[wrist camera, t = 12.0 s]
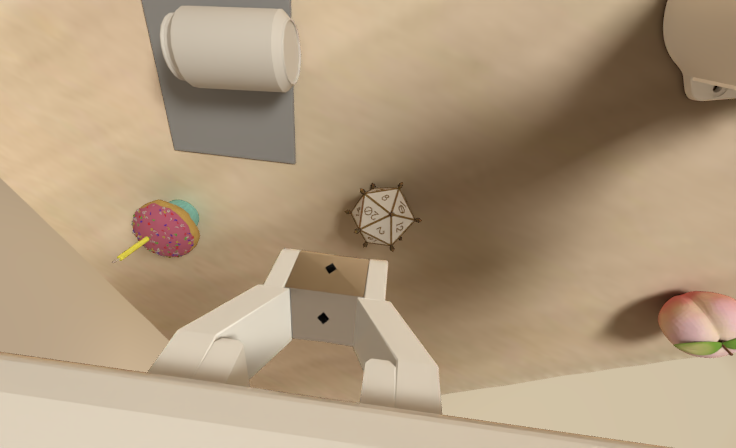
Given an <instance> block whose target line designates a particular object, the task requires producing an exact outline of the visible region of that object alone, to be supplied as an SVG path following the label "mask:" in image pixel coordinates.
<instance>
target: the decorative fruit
mask: <svg viewBox="0 0 736 448" xmlns="http://www.w3.org/2000/svg"><path fill="white" fill-rule="evenodd" d="M658 323H659V326H660V329H661V330H662V332H663V333H664V335H665V336H666V337H667V338H668V340H669V341H670V342H671V343H672V344H673V345H674V346H675V347H677V348H678V349H679V350H681V351H683V352H685V353H687V354H690V355H693V356H697V357H704V358H715V357H722V356H727V355H733V354H732V353H734V352H736V300H735V299H733V298H731V297H729V296H726V295H722V294H718V293H713V292H703V291H693V292H687V293H685V294H682V295H679V296H674V297H672V298H671V299H669V300H668V301H667V302H666V303H665V304H664V305H663V307H662V308H661V310H660V312H659V315H658Z"/></svg>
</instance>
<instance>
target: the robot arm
mask: <svg viewBox="0 0 736 448" xmlns="http://www.w3.org/2000/svg"><path fill="white" fill-rule="evenodd" d="M663 35H664V41H665V45H666V48H667V51H668V53H669V55H670V57H671V58H672V60H673V61H674V62H675V63H676V65H677V66H678V67H679V68H680V70H681V71H682V74H683V81H684V89H685V93H686V96H687V97H688V98H689V99H691V100H696V101H710V100H722V99H734V98H736V0H668V1H667V4H666V9H665V13H664V21H663ZM714 86H717V88H716V89H715V90H713V88H714ZM369 261H370V262H369ZM387 271H388V261H387V260H377V259H363V258H355V257H347V256H338V255H333V254H326V253H319V252H312V251H306V250H298V249H290V248H284V249H282V250H281V252H280V253H279V255H278V257H277V259H276V261H275V263H274V265H273V267H272V269H271V271H270V273H269V275H268V276H267V278H266V280H265V282H264V284H263V285H260V284H258V285H256V286H254V287H252V288H251V289H249V290H247V291H245V292H243V293H242V294H240V295H238V296H236V297H235V298H233V299H231V300H229V301H228V302H226V303H224V304H222V305H221V306H219V307H217V308H215V309H214V310H212V311H210V312H208V313H207V314H205V315H203V316H201V317H200V318H198V319H196V320H194V321H193V322H191V323H189V324H187V325H185V326H184V327H182V328H180V329H178V330H177V331H176V333H175V334H174V335H173V337H172V338H171V340H170V341H169V343H168V344H167V345H166V347H165V348H164V350H163V351H162V352H161V354H160V355H159V357H158V358H157V359H156V361H155V362H154V363H153V365H152V366H151V368H150V369H149V370H148V372H147V373H146V372H139V371H132V370H124V369H118V368H110V367H104V366H97V365H90V364H82V363H75V362H68V361H61V360H54V359H47V358H40V357H33V356H26V355H19V354H12V353H5V352H0V448H672V447H664V446H657V445H650V444H643V443H636V442H629V441H622V440H615V439H608V438H601V437H595V436H587V435H580V434H573V433H566V432H559V431H553V430H546V429H539V428H531V427H524V426H517V425H511V424H504V423H497V422H489V421H483V420H476V419H468V418H462V417H455V416H448V415H442V407H441V394H440V381H439V369H438V365H437V364H436V363H435V361H434V360H433V359H432V357H431V356H430V355H429V353H428V352H427V351H426V349H425V348H424V346H423V345H422V344H421V342H420V341H419V340H418V338H417V337H416V336H415V334H414V333H413V332H412V330H411V329H410V328H409V326H408V325H407V323H406V322H405V321H404V319H403V318H402V317H401V315H400V314H399V313H398V311H397V310H396V309H395V307H394V306H393V304H392V303H391V302H390V301H385V296H386V283H387ZM292 338H293V339H303V340H312V341H321V342H328V343H334V344H340V345H346V346H352V347H353V349H354V351H355V353H356V356H357V358H358V360H359V362H360V364H361V367H362V369H363V371H364V376H363V383H362V390H361V397H360V403H356V402H349V401H342V400H335V399H328V398H321V397H314V396H307V395H300V394H293V393H286V392H279V391H272V390H265V389H258V388H251V387H250V384H249V379H251V378H252V377H253V376H254V375H255V374H256V373H257V372H258V371H259V370H260V369H261V368H262V367H263V366H265V365H266V364H267V363H268V362H269V361H270V360H271V359H272V358H273V357H274V356H275V355H276V354H278V353H279V352H280V351H281V350H282V349H283V348H284V347H285V346H286V345H287V344H288V343H289V342H291V341H292Z"/></svg>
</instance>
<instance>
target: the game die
mask: <svg viewBox="0 0 736 448" xmlns="http://www.w3.org/2000/svg"><path fill="white" fill-rule="evenodd" d="M402 186H403V182H401V183H399V185H398V188H375V187H376V186H375V185H374V184H373V183H372V185H371V187H372V188H373V189H372V190H370V191H368V192H366V193H365V191H364V189H361V188H360V192H361V194H363V195H362V197H361V198H360V200H359V201H358V202H357V204H356V205H355V207H354V208H353V210H352V211H350V210H347V211H345V212H346V213H347V214H351V215H352V217H353V219H354V221H355V223H356V225H357V227H358V229H355V232H354V233H359V232H360V233H361V235H362V236H363V238H364V240H365V241H366V242H364V244H363V248H364V247H367V245H368V243H373V244H381V245H388V246H390V250H391V251H392V252H394V247H393V244H394V243H395V242H396V241H397V240H398V239H399V240H402V237H401V235H402V234H403V233H404V232H405V231H406V230H407V229H408V228H409V227H410V226H411V225H412V224H413V222H414V221H416V222H418V223H419V222H421V221H422V220H421V219H420V218H416V219H415V218H414V216H413V214H412V212H411V210H410V208H409V206H408V204H407V201H406V200H405V198H404V196H403V194H402V192H401V190H400V188H402Z"/></svg>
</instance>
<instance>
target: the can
mask: <svg viewBox="0 0 736 448" xmlns="http://www.w3.org/2000/svg"><path fill="white" fill-rule="evenodd" d="M160 44H161V49H162V53H163V57H164V59H165V61H166V64H167V66H168V68H169V69H170V70H171V72H172V73H173V74H174V75H175V76H176V77H177V78H178V79H180V80H183V81H187V82H188V83H189V84H190V85H192V86H193V87H197V88H209V89H229V90H248V91H268V92H287V91H289V90H290V89H291V87H292V86H293V85H294V84H296V83H297V81H298V78H299V74H300V66H301V49H300V40H299V34H298V30H297V27H296V25H295V22H294V21H293V20H292V19H291V18H290V17H289V16H288V15H287V13H286V12H285V11H284V10H283V9H272V8H243V7H215V6H180V7H179V8H178V9H177V10H176V11H175V12H174V13H168V14H167V15H166V16H165V17H164V19H163V21H162V24H161V28H160Z"/></svg>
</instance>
